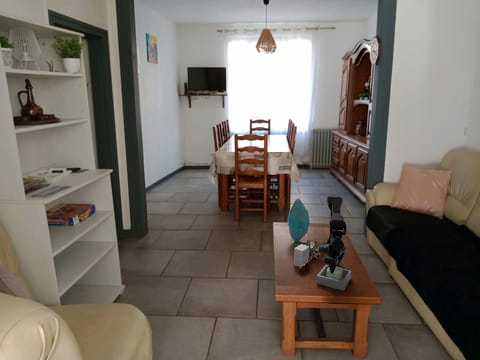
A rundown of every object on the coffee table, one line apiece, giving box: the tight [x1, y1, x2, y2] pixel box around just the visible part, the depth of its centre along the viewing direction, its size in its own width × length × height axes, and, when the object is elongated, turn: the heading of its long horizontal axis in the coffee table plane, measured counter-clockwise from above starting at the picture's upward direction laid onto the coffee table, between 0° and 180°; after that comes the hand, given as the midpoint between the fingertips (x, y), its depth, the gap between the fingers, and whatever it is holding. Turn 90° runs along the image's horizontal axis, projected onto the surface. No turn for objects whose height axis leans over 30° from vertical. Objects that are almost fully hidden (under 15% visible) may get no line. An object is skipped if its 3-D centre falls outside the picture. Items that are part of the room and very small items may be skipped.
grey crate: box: [316, 264, 352, 292], centre depth 188 cm, size 14×14×4 cm
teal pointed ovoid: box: [287, 197, 311, 243], centre depth 233 cm, size 12×14×30 cm
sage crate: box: [326, 266, 343, 281], centre depth 187 cm, size 6×6×6 cm
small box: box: [293, 243, 310, 267], centre depth 206 cm, size 8×6×10 cm
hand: (334, 269), depth 186 cm, fingers open, 9 cm apart
